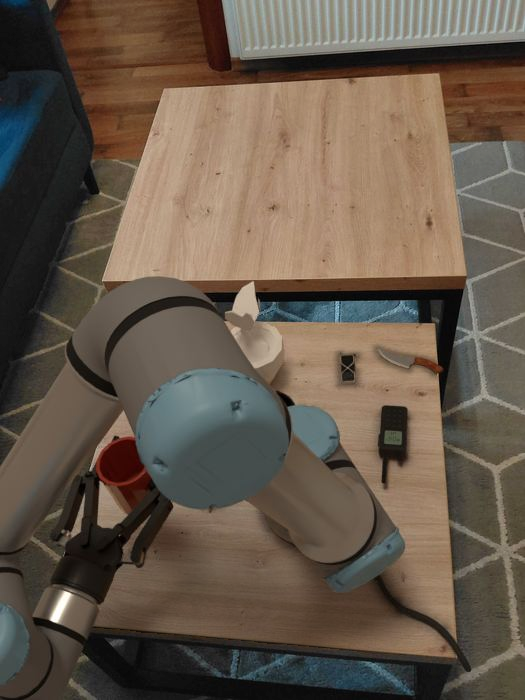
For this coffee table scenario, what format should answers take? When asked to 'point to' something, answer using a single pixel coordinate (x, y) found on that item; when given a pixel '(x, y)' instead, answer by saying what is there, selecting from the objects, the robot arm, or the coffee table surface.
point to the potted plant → (256, 334)
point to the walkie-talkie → (392, 435)
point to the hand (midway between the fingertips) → (144, 446)
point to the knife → (410, 361)
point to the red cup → (123, 473)
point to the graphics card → (348, 368)
